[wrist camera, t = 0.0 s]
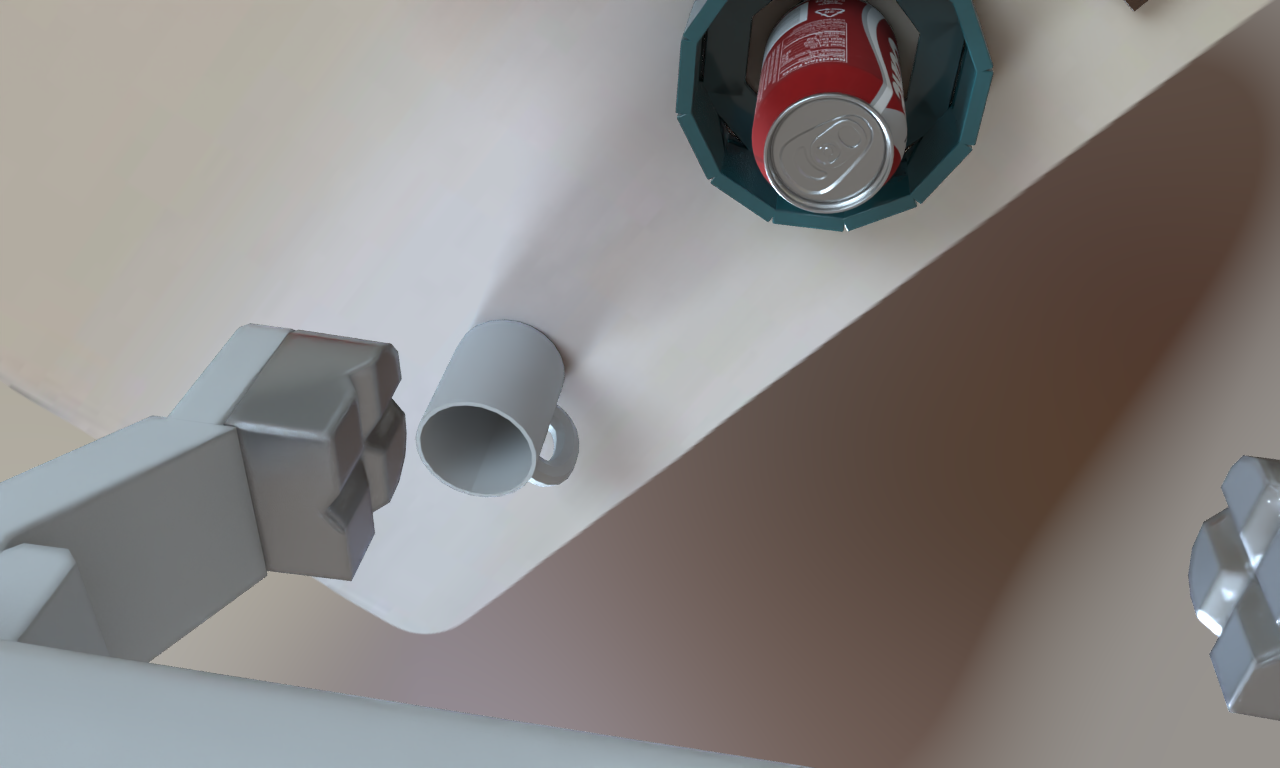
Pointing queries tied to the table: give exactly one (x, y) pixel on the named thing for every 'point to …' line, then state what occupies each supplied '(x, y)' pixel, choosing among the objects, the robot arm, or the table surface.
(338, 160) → the table surface
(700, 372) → the table surface
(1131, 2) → the serving board
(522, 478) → the cup
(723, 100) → the bowl
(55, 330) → the table surface
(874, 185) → the soda can
